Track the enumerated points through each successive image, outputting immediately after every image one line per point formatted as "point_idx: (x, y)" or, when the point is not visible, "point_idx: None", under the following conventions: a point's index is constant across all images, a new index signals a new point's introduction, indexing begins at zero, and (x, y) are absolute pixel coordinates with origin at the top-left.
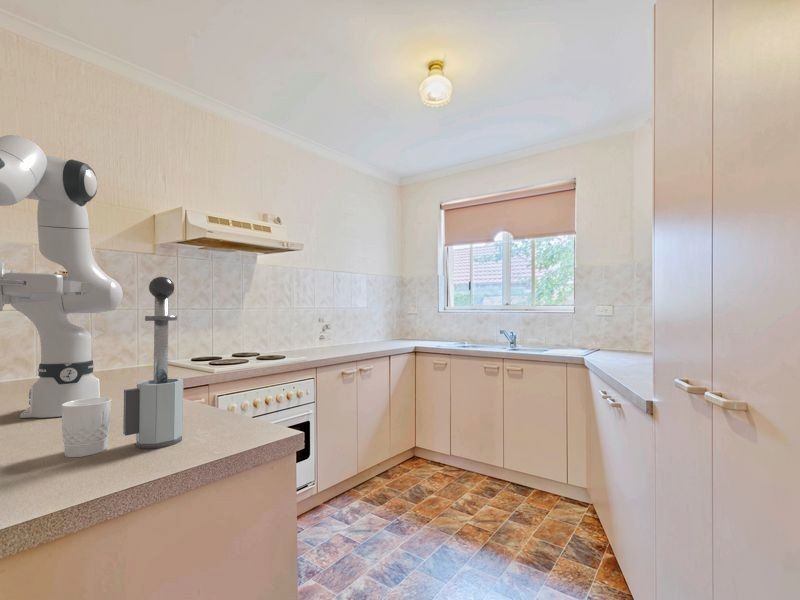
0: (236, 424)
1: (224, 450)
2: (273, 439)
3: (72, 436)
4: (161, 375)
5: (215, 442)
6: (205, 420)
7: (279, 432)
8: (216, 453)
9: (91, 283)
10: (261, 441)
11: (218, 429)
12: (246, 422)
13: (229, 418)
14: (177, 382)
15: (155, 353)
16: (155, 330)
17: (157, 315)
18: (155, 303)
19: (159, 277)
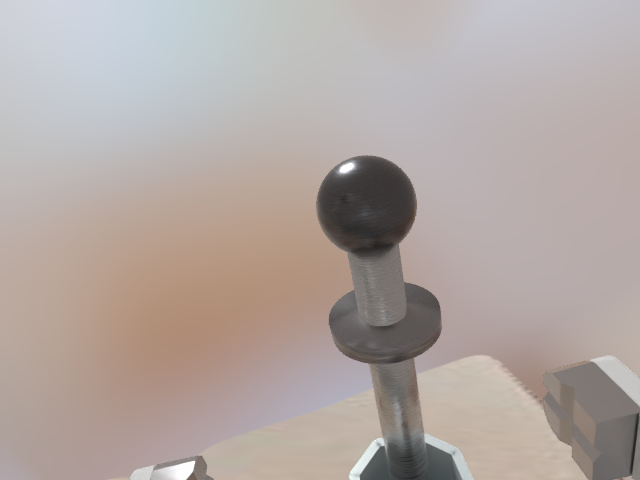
0: (365, 425)
1: (554, 461)
2: (508, 385)
3: None
4: (428, 466)
5: (487, 471)
6: (285, 476)
7: (466, 373)
8: (572, 476)
9: (613, 358)
10: (514, 401)
11: None
12: (361, 408)
13: (305, 432)
14: (445, 443)
15: (414, 430)
16: (403, 368)
17: (402, 316)
18: (389, 278)
19: (382, 163)
